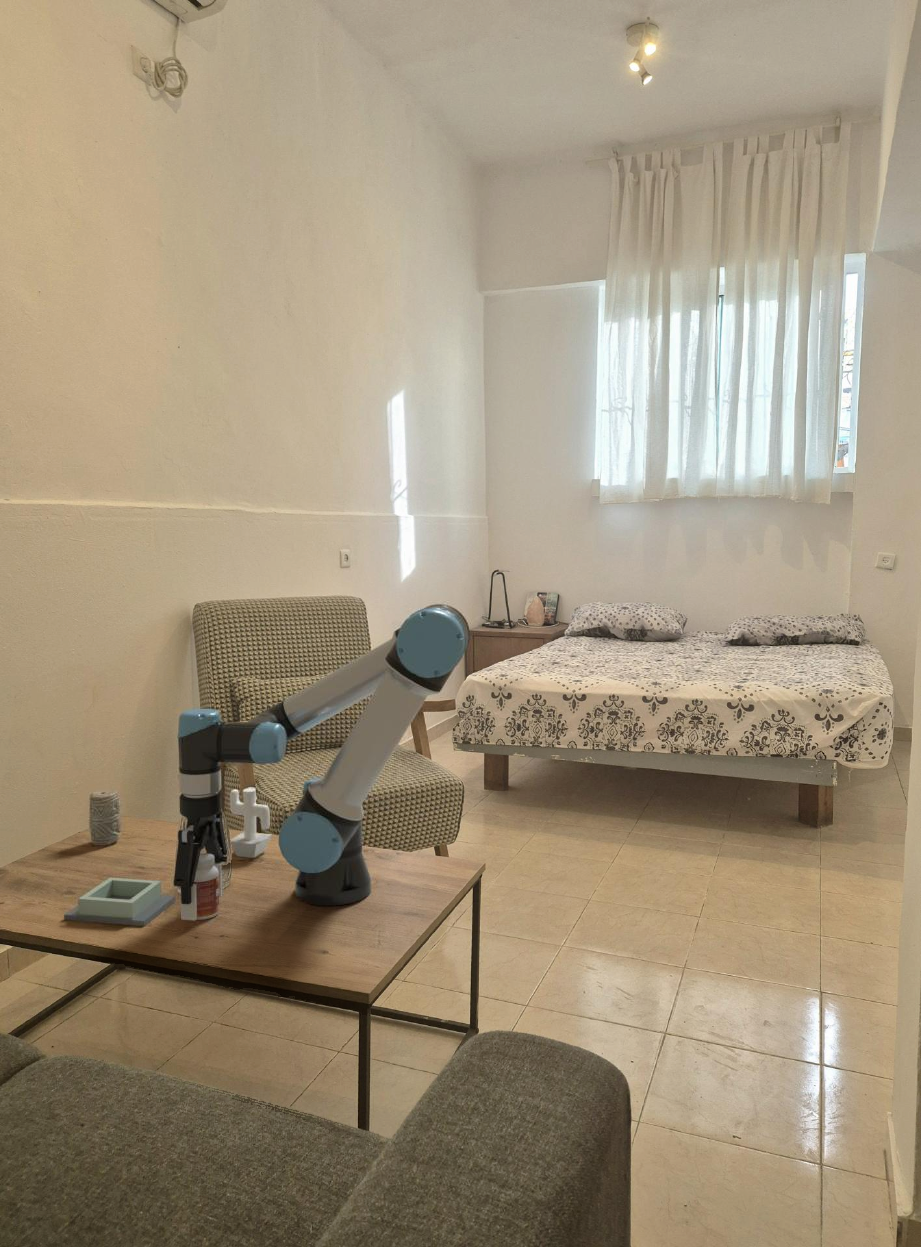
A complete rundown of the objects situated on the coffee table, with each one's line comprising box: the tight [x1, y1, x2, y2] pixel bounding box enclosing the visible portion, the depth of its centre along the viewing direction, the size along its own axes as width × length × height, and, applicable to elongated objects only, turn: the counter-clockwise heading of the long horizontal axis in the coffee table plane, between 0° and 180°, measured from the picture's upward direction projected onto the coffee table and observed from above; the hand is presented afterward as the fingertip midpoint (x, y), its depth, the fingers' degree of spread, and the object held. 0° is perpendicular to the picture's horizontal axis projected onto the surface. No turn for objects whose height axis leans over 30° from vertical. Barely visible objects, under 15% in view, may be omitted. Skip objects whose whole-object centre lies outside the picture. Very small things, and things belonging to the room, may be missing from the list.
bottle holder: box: [63, 877, 176, 927], centre depth 171 cm, size 16×12×4 cm
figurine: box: [229, 786, 273, 859], centre depth 202 cm, size 7×9×15 cm
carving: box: [88, 790, 122, 847], centre depth 209 cm, size 6×8×12 cm
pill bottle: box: [194, 852, 220, 921], centre depth 169 cm, size 6×6×11 cm
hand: (202, 907), depth 170 cm, fingers open, 10 cm apart
